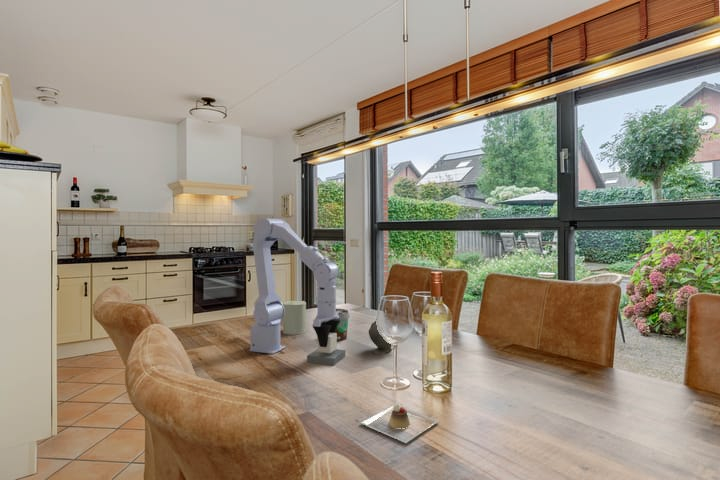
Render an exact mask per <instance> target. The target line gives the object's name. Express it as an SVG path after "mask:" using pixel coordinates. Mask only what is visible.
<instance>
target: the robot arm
mask: <svg viewBox="0 0 720 480" xmlns="http://www.w3.org/2000/svg"><path fill="white" fill-rule="evenodd" d="M252 228H253V239H252V249H253V251H252V252H253V256H254V257H253V259H254V265H255V266H254V267H255V272H256V281H257V289H258V297H257V298H256V300H255V301H254V303H253V304H254V309H253V315H252V316H253V319H254V321H255V322H254V323H253V324H252V326H251V328H250V334H249V335H250V338H249V339H250V342H249V343H250V349H248V350H249V352H254V353H262V354H271V355H272V354H276V353H278V352H280V351H281V350H283V349H286V345H281V322H282V319H283V316H284V314H285V309H284V306H283V302H282V297H281V296H279V295H278V294H277V293H276V284H275V276H274V268H273V261H272V254H271V247H272V246H273V244H274V243H275V242H276V241H278V240H279V239H281V240H283V241H284V242H286V244H288V245H289V246H290V247H291V248H293V249H294V251H296V252H297V253H299V259H300V261H302V262H303V263H304V264H305V265H306V267H308V268H309V269H310V270H311V271H312V273H313V277H314V279H315V280H316V286H317V292H316V293H317V297H316V299H317V305H316V306H317V310H316V311H317V314H316V316H315V318H314V319H312V320H313V323H312V328H313V330H314V332H315V335H316V336H317V337H318V341H319V345H320V347H327V342H328V335H329V332H330V333H336V329H337V327H338V325H339V323H340V319H338V318H339V311H336V308H337V278H338V276H339V274H340V269H339V266H338V265H337V262H334V261H329V258H328V257H325V256H324V255H323V254H322V253H320V251H319V248H318V247H317V246H313V245H309V246H308V244H306V243H305V242H304V241H303V239H301V238H300V237H299V236H298V234H297V233H296V232H295V231H294V230H293V229H292V228H291V225H290V224H289V223H288V222H286V220H284V219H283V218H266V217H261V218H259V219H258V220H257V221H256V222H255V224H254V225H253V227H252Z"/></svg>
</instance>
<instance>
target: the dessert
mask: <svg viewBox="0 0 720 480" xmlns="http://www.w3.org/2000/svg"><path fill="white" fill-rule="evenodd" d="M393 409H394V410H393ZM392 410H393V411H392ZM389 411H392V412H391V413H390V418H389V421H388V426H389V425H390V426H391V427H393V428H401V429H402V428H406V427H408V426H409V425H410V426H411V422H410V419H409V415H407V413H410V414H412V415H415V416H419V417H422V418H424V419H428V420H430V421H434V423H432V424H431V425H430V424H428V425H429V426H428V425H427V426H428V427H427V426H425V427H426V428H425V427H424V428H425V429H424V428H422V429H423V430H422V429H421V430H422V431H421V430H419V431H420V432H419V431H418V432H419V433H418V432H416V433H417V434H416V433H415V434H416V435H415V434H414V436H413V435H412V436H413V437H412V436H410V437H411V438H410V437H408V438H407V439H408V440H407V439H406V440H403V439H401V438H398V437H396V436H395V435H394V436H393V435H391V434H389V433H387V432H385V431H383V430H382V431H381V430H380V429H377V428H375V427H373V426H371V425H370V424H372V423H373V421H374V422H376V421H378V420H379V419H380V418H379V417H381V418H383V417H384V416H383V415H384V414H386V413H387V412H389ZM382 416H383V417H382ZM378 418H379V419H378ZM377 419H378V420H377ZM375 420H376V421H375ZM439 422H440V420H438V419H435V418H432V417H429V416H427V415H424V414H422V413H420V412H416V411H414V410H410V409H408V408H406V407H403V406H401V405H400V404H395V403H394V404H391V405H390V406H388V407H386V408H384V409H382V410H380V411H378V412H376V413H374V414H373V415H371V416H369V417H367V418H365V419H363V420H361V421H359V424H361V425H362V426H364V425H365V426H364V427H367V428H369V429H372V430H374V431H376V432H378V433H380V432H381V434H384V435H385V436H387V437H390V438H393V439H394V440H396V439H397V440H396V441H399V442H401V443H404V444H407V443H409V442H410V441H412V440H414V439H416V437H418V436H419V435H421V434H422V433H424V432H425V431H427V430H428V429H430V428H432V427H433V426H434V425H436V424H438V423H439ZM390 426H389V427H390ZM391 427H390V428H391ZM393 428H392V429H393Z"/></svg>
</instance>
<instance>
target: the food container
mask: <svg viewBox="0 0 720 480" xmlns="http://www.w3.org/2000/svg"><path fill="white" fill-rule="evenodd" d="M336 311H339V318H338V319H340V323H339V325H338V327H337V329H336V333H337V342H342V341H346V340H347V339H348V338H347V337H348V325H349V324H348V323H349V319H350V318H351V314H350V312H349V310H348V309H344V308H337V307H336Z"/></svg>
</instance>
